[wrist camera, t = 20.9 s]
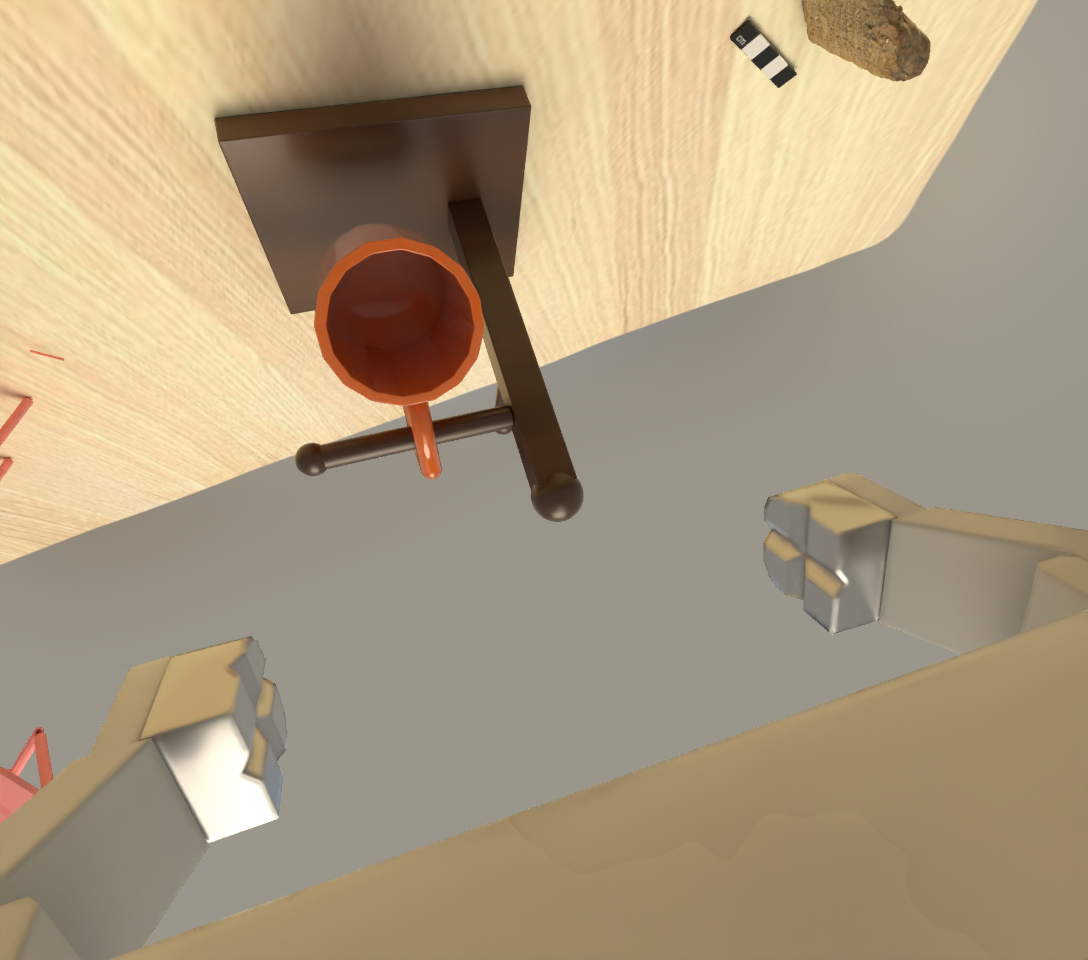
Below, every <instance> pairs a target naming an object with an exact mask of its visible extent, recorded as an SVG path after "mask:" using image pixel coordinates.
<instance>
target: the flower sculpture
mask: <svg viewBox="0 0 1088 960" xmlns="http://www.w3.org/2000/svg"><path fill="white" fill-rule="evenodd" d="M30 352H32V353H36V354H40V355H44V356H48V357H52V358H56V359H60V360H64V359H63V358H59V357H55V356H52V355H48V354H44V353H40V352H36V351H32V350H30ZM32 404H33V401H32V400H31V399H29V398H24V399H23V401H22V402H21V403H20V404H19V406H18V407H17V408H16V410H15V411H14V412H13V414H12V415H11V416H10V417H9V419H8V420H7V421H6V423H5V424H4V425H3V427H2V428H1V429H0V446H1V445H2V443H3V442H4V441H5V439H6V438H7V437H8V435H9V434H10V433H11V431H12V430H13V429H14V427H15V426H16V425H17V423H18V422H19V421H20V420H21V418H22V417H23V416H24V414H25V413H26V412H27V410H28V409H29V408H30V406H31V405H32ZM12 464H13V461H12V460H10V459H5V460H4V461H3V463H2V464H1V466H0V480H1V479H2V478H3V476H4V475H5V473H6V472H7V471H8V469H9V468H10V466H11V465H12ZM34 750H36V757H37V763H38V769H39V776H40V782H41V789H42V788H43V787H44V786H45V785H46V784H48V783H49V782H50V781H51V780H52V779H53V774H52V769H51V763H50V757H49V751H48V745H47V739H46V734H44V730H43V729H42V728H41V727H38V728H36V729H35V731H34V732H33V734H32V735H31V737H30V738H29V740H28V742H27V743H26V745H25V747H24V748H23V750H22V752H21V753H20V755H19V757H18V758H17V760H16V762H15V764H14V766H13V767H12V769H8V770H7V769H4V768H2V767H0V824H1V823H2V822H3V821H4V820H6V819H7V818H8V817H9V816H10V815H11V814H13V813H14V812H15V811H16V810H17V809H18V808H20V807H21V806H22V805H23V804H24V803H25V802H27V801H28V800H29V799H30V798H31V797H32V796H34V795H35V794H36V793H37V792H38V791H39V790H38V789H37V788H36V787H34V786H32V785H31V784H29V783H28V782H26V781H24V780H23V779H21V778H20V777H19V774H20V772H21V771H22V769H23V767H24V766H25V764H26V763H27V761H28V759H29V758H30V756H31V755H32V753H33V751H34Z"/></svg>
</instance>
